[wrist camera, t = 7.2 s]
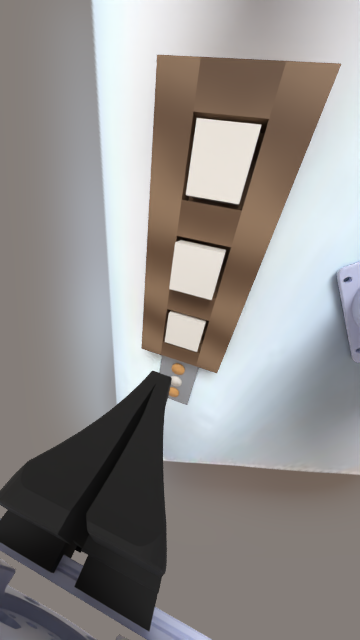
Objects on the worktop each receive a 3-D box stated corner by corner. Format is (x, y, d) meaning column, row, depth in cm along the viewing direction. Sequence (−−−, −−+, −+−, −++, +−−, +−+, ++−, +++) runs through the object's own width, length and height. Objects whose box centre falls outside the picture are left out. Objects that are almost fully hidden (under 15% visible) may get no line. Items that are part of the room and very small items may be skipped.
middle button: (214, 292, 15) (211, 300, 14) (175, 282, 16) (169, 288, 14) (226, 249, 13) (224, 253, 12) (181, 239, 14) (175, 242, 13)
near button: (238, 205, 13) (238, 204, 11) (191, 197, 13) (185, 194, 12) (258, 137, 11) (261, 124, 9) (201, 130, 11) (196, 117, 10)
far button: (199, 342, 20) (197, 352, 18) (169, 333, 20) (164, 341, 19) (207, 315, 18) (205, 323, 16) (174, 305, 18) (168, 313, 17)
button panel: (219, 358, 21) (216, 373, 19) (150, 336, 23) (141, 348, 21) (319, 95, 10) (341, 63, 8) (171, 84, 11) (157, 54, 9)
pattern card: (187, 402, 27) (186, 406, 27) (157, 391, 28) (155, 395, 27) (200, 361, 22) (199, 365, 22) (163, 349, 23) (161, 353, 23)
